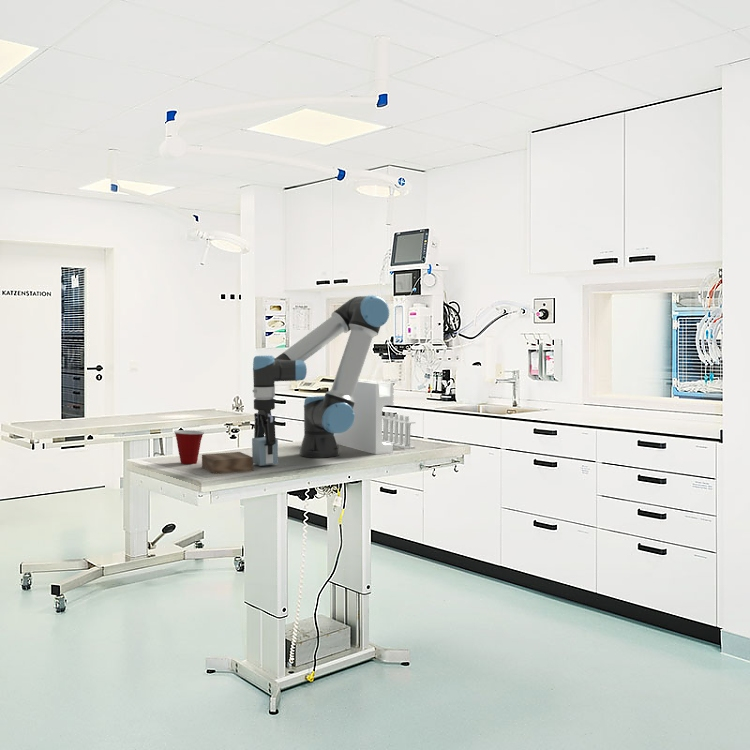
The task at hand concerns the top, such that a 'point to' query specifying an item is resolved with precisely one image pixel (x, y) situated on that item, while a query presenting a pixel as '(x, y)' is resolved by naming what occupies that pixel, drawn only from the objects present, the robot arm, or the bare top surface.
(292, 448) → the top surface
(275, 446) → the slate block
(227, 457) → the walnut block
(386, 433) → the test tube rack
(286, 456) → the top surface
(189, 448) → the plastic cup
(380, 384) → the block
